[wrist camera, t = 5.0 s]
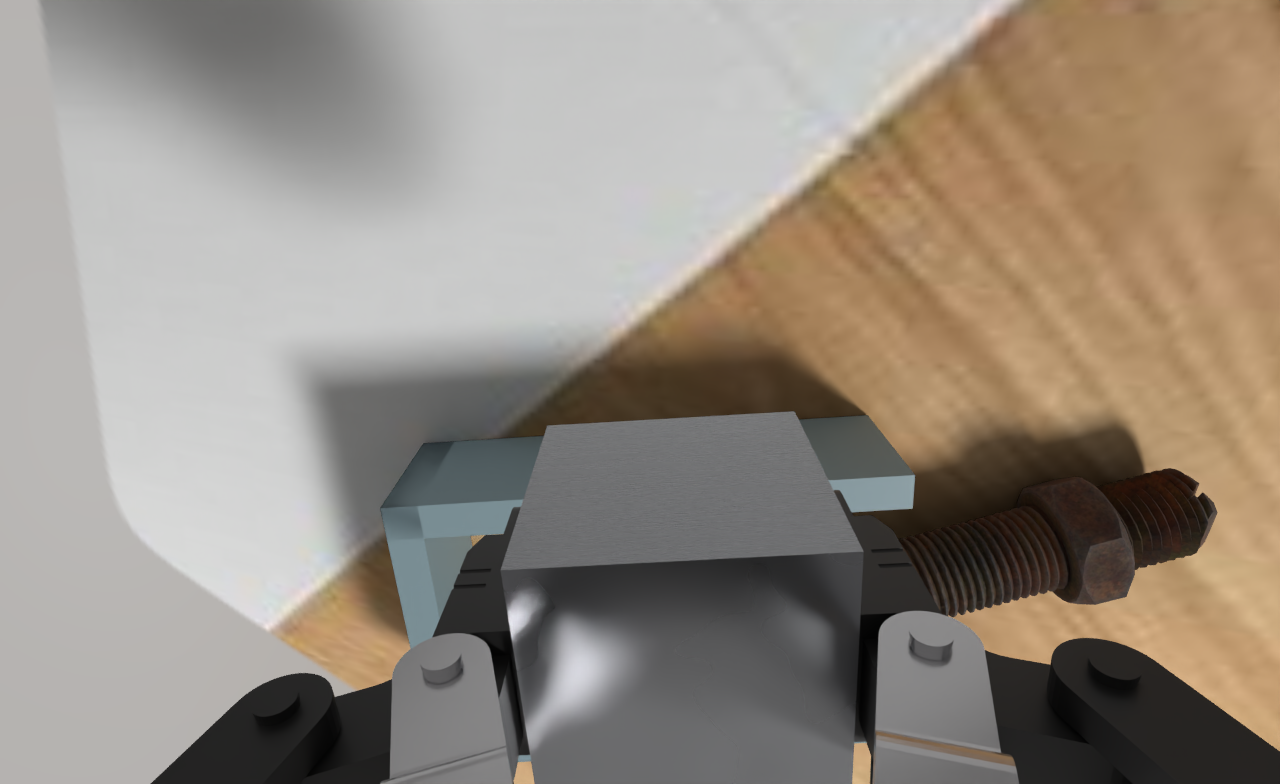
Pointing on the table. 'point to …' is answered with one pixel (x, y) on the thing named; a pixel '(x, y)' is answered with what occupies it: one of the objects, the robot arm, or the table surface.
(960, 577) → the bolt
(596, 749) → the block
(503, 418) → the table surface
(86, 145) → the table surface
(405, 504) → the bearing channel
